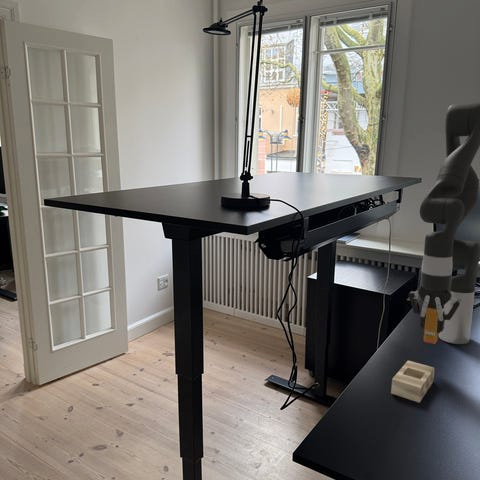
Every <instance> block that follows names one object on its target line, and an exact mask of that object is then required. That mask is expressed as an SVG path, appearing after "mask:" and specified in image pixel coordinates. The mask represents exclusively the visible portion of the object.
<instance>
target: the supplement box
mask: <svg viewBox="0 0 480 480" xmlns="http://www.w3.org/2000/svg"><path fill="white" fill-rule="evenodd" d="M438 320H439V318H438V313H437V308H435V307H428V308H427V311H426V320H425V329H424V330H423V331H424V332H423V342H425V343H428V344H433V345H436V343H437V342H438V340H439V339H438V338H439V333H437V324H438Z"/></svg>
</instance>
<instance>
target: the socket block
mask: <svg viewBox="0 0 480 480" xmlns="http://www.w3.org/2000/svg"><path fill="white" fill-rule="evenodd" d="M434 378H435V367H433V366H429V365H426V364H422V363H419V362H415V361H412V360H407V361H406V362H405V363H404V364H403V366H402V367H400V369H399V370H398V372H396V374H395V375H394V376H393V377H392V379H391V390H390V394H391V395H395V396H398V397H401V398H404V399H408V400H409V401H414V402H416V403H419V404H420V403H421V401H422V400H423V398H424V396H425V395H426V394H427V392H428V390H429V389H430V388H431V386H432V384H433V383H434Z"/></svg>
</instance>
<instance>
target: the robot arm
mask: <svg viewBox="0 0 480 480" xmlns="http://www.w3.org/2000/svg"><path fill="white" fill-rule="evenodd" d="M444 132H445V152H446V154H445V155H446V157H445V159H444V161H443V162H442V163H441V165H440V169H439V171H438V174H437V178H436V181H435V183H434V185H433V186H432V188H431V189H430V191H428V193H427V194H426V195H425V197H424V198H423V200H422V201H421V204H420V207H419V216H420V218H421V220H422V221H423V222H425V223H428V224H437V225H443V230H441V231H432V232H428V233H426V235H425V238H424V246H423V247H424V248H423V257H422V260H421V261H422V262H421V271H420V272H421V273H420V275H421V276H420V287H419V289H418V290H416V291H414V290H412V291H410V292H409V293H408V295H407V296H408V298H409V301H410V304H411V307H412V311H413V313H414V314H417V315H419V316H420V323H419V326H420V328H422V330H423V331H424V329H425V320H426V311H427V308H428V307H435V308H437V313H438V318H439V320H438V324H437V333H438V338H439V339H440V340H441V341H444V342H447V343H450V344H454V345H467V344H468V343H469V342H470V337H471V331H472V329H471V328H472V321H473V320H472V319H473V310H474V302H475V301H474V300H475V291H476V285H477V283H476V282H477V273H478V268H479V263H480V243H479V242H478V241H473V240H464V239H457V238H456V235H457V232H458V229H459V227H460V225H461V224H462V223H463V221H464V220H465V219H466V218H467V216H468V215H469V214H470V213H471V212H472V211H473V210H474V208H475V206H476V205H477V203H478V199H479V189H480V186H479V185H480V181H479V180H480V179H479V177H478V175H477V172H476V171H475V169H474V168H473V166H472V162H473V161H474V158H475V157H476V154H477V153H478V151H479V149H480V102H471V103H469V102H468V103H454V104H451V105H449V106H448V108H447V110H446V114H445V131H444ZM461 137H467V138H466V139H465V141H463V142H462V143H461V140H460V138H461ZM453 269H459V270H464V273H462V274H460V275H459V274H458V275H455V276H454V275H453ZM452 275H453V276H452ZM419 297H420V299H421V301H422V302H423V303H422V307H421V306H420V303H419V300H418V299H419Z"/></svg>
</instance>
